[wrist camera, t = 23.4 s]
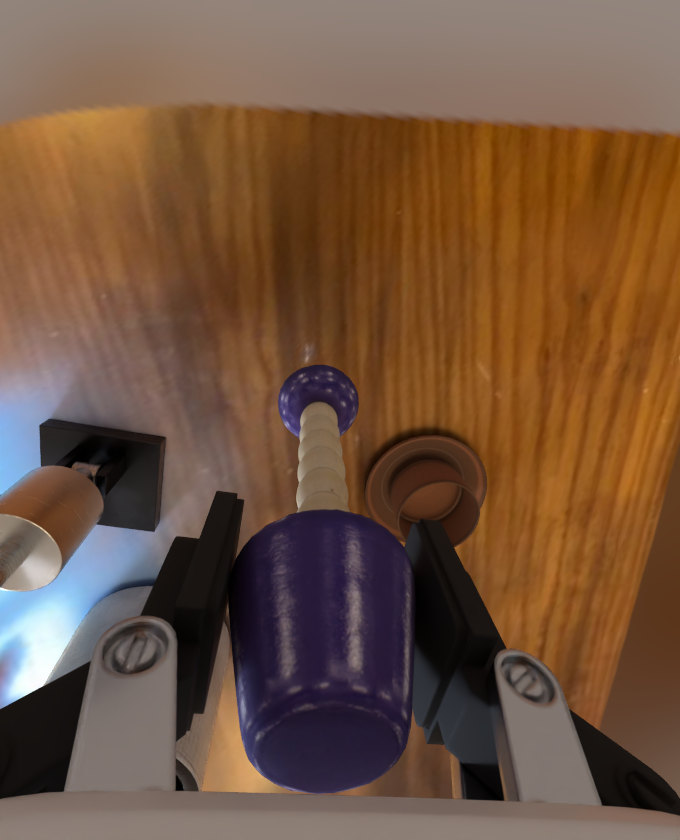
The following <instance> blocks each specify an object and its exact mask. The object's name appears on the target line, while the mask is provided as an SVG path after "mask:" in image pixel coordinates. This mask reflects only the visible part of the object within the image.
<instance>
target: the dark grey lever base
mask: <svg viewBox="0 0 680 840" xmlns="http://www.w3.org/2000/svg"><path fill="white" fill-rule="evenodd" d="M165 440H166V438H165V437H159V436H153V435H146V434H140V433H134V432H127V431H121V430H115V429H109V428H102V427H96V426H90V425H84V424H77V423H71V422H65V421H59V420H52V419H48V420H47V421H45V422H44V423H42V424H41V425H40V453H41V467H43V466H63V467H67V468H71V467H72V465H73V464H74V463H75V462H77V461H78V462H85V463H92V464H99V465H103V466H104V467H103V468H102V469H101V470H100V471H99V472H98V473H97V474H96V487H97V488H98V489H99V491H100V493H101V495H102V498H103V505H104V508H103V513H102V516H101V518H100V520H99V521H98V523H97V525H105V526H113V527H120V528H128V529H136V530H144V531H152V532H154V531H155V529H156V527H157V526H158V524H159V517H160V504H161V491H162V478H163V465H164V453H165Z"/></svg>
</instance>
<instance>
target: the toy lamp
mask: <svg viewBox="0 0 680 840" xmlns="http://www.w3.org/2000/svg"><path fill="white" fill-rule="evenodd" d="M358 403H359V402H358V393H357V390H356V388H355V386H354V384H353V383H352V381H351V380H350V378H349V377H347V376H346V375H345V374H344V373H343V372H342V371H340V370H338V369H336V368H334V367H331V366H327V365H312V366H309V367H304V368H302V369H299V370H297V371H296V372H295V373H293V374H292V375H290V376H289V377H288V378H287V379H286V381H285V382H284V384H283V386H282V388H281V390H280V393H279V400H278V407H279V413H280V416H281V418H282V420H283V422H284V424H285V425H286V427H287V428H288V429H289V430H290V431H291V432H292V433H293V434H294V435H295V436H297V437H299V438H300V445H299V450H298V456H299V461H300V463H299V467H298V480H299V486H298V489H297V496H296V500H297V506H298V511H297V513H294V514H290V515H288V516H286V517H284V518H282V519H280V520H277V521H275V522H273V523H271V524H268V525H266V526H265V527H264V528H263V529H262V530H261V531H259V532H258V533H256V534H255V535H254V536H253V537H251V539H250V540H249V541H248V542H247V543H246V544H245V546H244V547H243V548H242V550H241V552H240V553H239V555H238V556H237V558H236V560H235V562H234V565H233V568H232V571H231V576H230V581H229V587H228V605H229V618H230V631H231V642H232V655H233V664H234V676H235V686H236V695H237V705H238V714H239V723H240V730H241V736H242V741H243V744H244V748H245V751H246V754H247V757H248V759H249V761H250V762H251V763H252V765H253V766H254V767H255V768H256V770H257V771H258V772H259V773H260V774H261V775H262V776H264V777H265V778H267V779H268V780H270V781H271V782H273V783H274V784H277V785H279V786H281V787H284V788H286V789H289V790H291V791H298V792H306V793H314V794H322V793H336V792H341V791H346V790H350V789H354V788H357V787H360V786H363V785H366V784H369V783H371V782H372V781H374V780H376V779H377V778H379V777H381V776H382V775H384V774H385V773H386V772H387V771H388V770H389V769H390V768H392V767H393V766H394V765H395V764H396V762H397V761H398V760H399V758H400V756H401V755H402V753H403V751H404V750H405V748H406V744H407V741H408V737H409V733H410V728H411V717H412V700H413V675H414V652H415V613H416V587H415V576H414V571H413V567H412V564H411V561H410V558H409V556H408V554H407V552H406V550H405V549H404V547H403V545H402V544H401V543H400V542H399V541H398V540H397V538H396V537H395V536H394V535H393V534H392V533H391V532H390V531H389V530H388V529H387V528H385V527H384V526H382V525H381V524H378V523H376V522H375V521H373V520H371V519H370V518H366V517H364V516H363V515H359V514H354V513H351V512H350V510H349V508H348V506H347V504H348V489H347V486H346V483H345V481H344V480H345V472H346V471H345V465H344V463H343V460H342V447H341V443H340V441H339V439H340V436H341V435H343V434H344V433H345V432H346V431H347V430H348V429H349V428H350V426H351V425H352V423H353V422H354V420H355V417H356V415H357V411H358Z"/></svg>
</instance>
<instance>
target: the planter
mask: <svg viewBox="0 0 680 840" xmlns="http://www.w3.org/2000/svg"><path fill="white" fill-rule="evenodd" d="M152 588H153V586H141V587H133V588H128V589H124V590H121V591H118V592H115V593H113V594H111V595H109V596H107V597H105V598H103V599H102V600H100V601H99V602H98V603H97V604H95V605H94V606H93V607H92V608H91V610H90V611H89V612H88V613H87V614H86V616H85V617H84V618H83V620H82V621H81V623H80V624H79V626H78V628H77V629H76V631H75V633H74V635H73V636H72V638H71V640H70V641H69V643H68V645H67V646H66V648H65V650H64V652H63V653H62V655H61V657H60V658H59V660H58V662H57V664H56V665H55V667H54V669H53V671H52V672H51V674H50V676H49V677H48V679H47V681H46V683H45V684H44V686H45V685H46V684H48V683H50V682H52V681H54V680H56V679H58V678H59V677H61V676H63V675H65V674H67V673H69V672H71V671H72V670H74V669H76V668H78V667H80V666H82V665H84V664H85V663H87V662H89V661H91V659H92V654H93V650H94V648H95V645H96V643H97V641H98V639H99V638H100V637H101V636H102V635H103V633H104V632H105V631H106V630H108V629H109V628H110V627H112V626H113V625H114V624H116V623H118V622H120V621H123V620H125V619H127V618H131V617H136V616H140V614H141V612H142V610H143V608H144V605H145V603H146V601H147V599H148V596H149V594H150V592H151V590H152ZM229 652H230V637H229V633H228V629H227V627H226V625H225V623H223V627H222V632H221V637H220V641H219V646H218V650H217V655H216V660H215V664H214V669H213V673H212V678H211V683H210V687H209V692H208V697H207V701H206V706H205V710H204V714H194V716H193V720H192V724H191V729H190V731H187V732H186V735H184V736H183V737H182V738H181V739H179V740H178V741H177V742H176V791H202V786H203V781H204V776H205V771H206V766H207V761H208V756H209V751H210V746H211V741H212V736H213V731H214V726H215V722H216V717H217V712H218V707H219V703H220V698H221V693H222V688H223V684H224V679H225V674H226V669H227V664H228V659H229Z"/></svg>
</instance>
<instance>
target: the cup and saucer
mask: <svg viewBox="0 0 680 840" xmlns="http://www.w3.org/2000/svg"><path fill="white" fill-rule="evenodd" d="M486 490H487V476H486V472H485V469H484V466H483V464H482V462H481V460H480V458H479V457H478V456H477V455H476V453H475V452H474V451H473V450H472V449H470V448H469V447H468V446H466V445H465V444H463V443H462V442H460V441H457V440H455V439H452V438H450V437H446V436H440V435H424V436H418V437H413V438H410V439H407V440H405V441H402V442H400V443H399V444H397V445H395V446H393V447H392V448H390V449H389V450H388V451H387V452H385V453H384V454H383V455H382V456H381V457H380V458H379V460H378V461H377V462H376V463H375V465H374V466H373V468H372V470H371V472H370V474H369V476H368V479H367V483H366V488H365V504H366V509H367V511H368V514H369V516H370V518H371V520H373V521H375V522H376V523H378V524H381V525H382V526H384V527H385V528H387V529H388V530H389V531H390V532H391V533H392V534H393V535H394V536H395V537H396V538H397V540H399V541H403V542H406V540H407V537H408V534H409V531H410V528H411V525H412V524H413V523H418V521H419V520H420V519H429V520H436V521H440V522H441V523H442V525H443V527H444V529H445V531H446V533H447V535H448V537H449V539H450V541H451V543H452V545H453V547H456V546H458V545H460V544H461V543H463V542H464V541H465V540H466V539H467V538H468V537H469V536H470V535H471V534H472V533H473V531H474V530H475V528H476V526H477V524H478V521H479V517H480V508H481V506H482V504H483V501H484V499H485V495H486Z"/></svg>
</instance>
